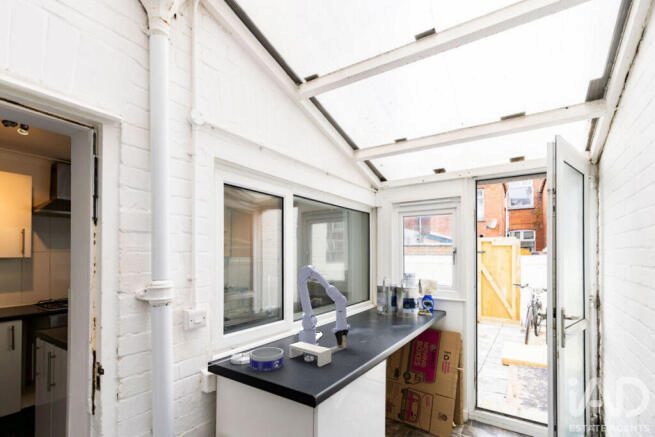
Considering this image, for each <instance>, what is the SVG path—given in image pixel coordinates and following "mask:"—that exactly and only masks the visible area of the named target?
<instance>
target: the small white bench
mask: <svg viewBox="0 0 655 437" xmlns="http://www.w3.org/2000/svg"><path fill="white" fill-rule="evenodd" d="M288 347H289V348H288V349H289V350H288V351H289V352H288V353H289V354H288V358H290V359H292V358H296V357H299V356H301V355H303V353H306V354H310V355H312V356H314V355H317V356H318V357H317V367H323V366H324V365H328V364H330V363H331V362H332V354H331V349H330V348H331V347H324V346H320V345H313V344H309V343H305V342H299V341H298V342H295V343H291V344H289V346H288Z"/></svg>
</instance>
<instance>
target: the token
mask: <svg viewBox="0 0 655 437" xmlns="http://www.w3.org/2000/svg"><path fill="white" fill-rule="evenodd" d="M314 358H315V356H314V355H306V356H304V362H309V363H310V362H313V361H315V360H314Z"/></svg>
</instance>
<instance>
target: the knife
mask: <svg viewBox="0 0 655 437" xmlns="http://www.w3.org/2000/svg"><path fill="white" fill-rule="evenodd" d="M319 332H320V333H316V342H317V341H319V339H320V338H321V337H322V336H323V333H322V332H321V331H319Z"/></svg>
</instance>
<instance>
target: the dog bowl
mask: <svg viewBox="0 0 655 437" xmlns="http://www.w3.org/2000/svg"><path fill="white" fill-rule="evenodd" d="M283 365H284V349H282V348H279V347H274V346H273V347H272V346H269V347H265V346H264V347H260V348H259V347H258V348H256V349H253V350H251V351H250V352H249V368H250V369H252V370H254V371H258V372H269V371H274V370H278V369H280V368H282V366H283Z"/></svg>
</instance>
